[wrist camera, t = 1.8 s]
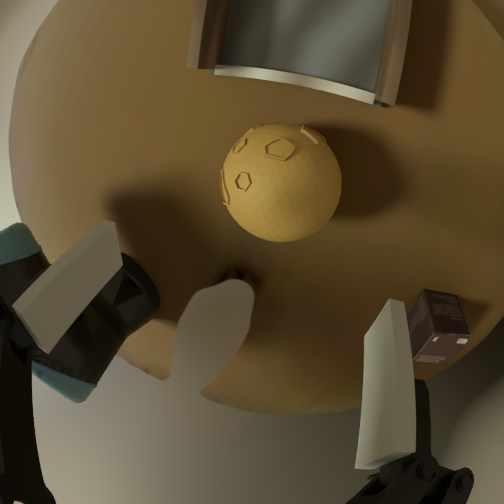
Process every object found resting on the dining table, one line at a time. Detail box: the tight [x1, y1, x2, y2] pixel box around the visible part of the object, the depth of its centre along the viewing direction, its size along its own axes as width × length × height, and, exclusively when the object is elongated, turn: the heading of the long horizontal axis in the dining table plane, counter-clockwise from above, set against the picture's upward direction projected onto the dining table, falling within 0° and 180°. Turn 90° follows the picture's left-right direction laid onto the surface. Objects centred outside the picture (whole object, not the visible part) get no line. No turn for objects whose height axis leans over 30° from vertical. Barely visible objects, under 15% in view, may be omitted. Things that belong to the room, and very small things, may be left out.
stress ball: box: [219, 123, 342, 242], centre depth 22 cm, size 10×10×10 cm
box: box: [407, 290, 471, 365], centre depth 28 cm, size 6×6×7 cm
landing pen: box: [186, 0, 412, 107], centre depth 14 cm, size 16×16×6 cm
